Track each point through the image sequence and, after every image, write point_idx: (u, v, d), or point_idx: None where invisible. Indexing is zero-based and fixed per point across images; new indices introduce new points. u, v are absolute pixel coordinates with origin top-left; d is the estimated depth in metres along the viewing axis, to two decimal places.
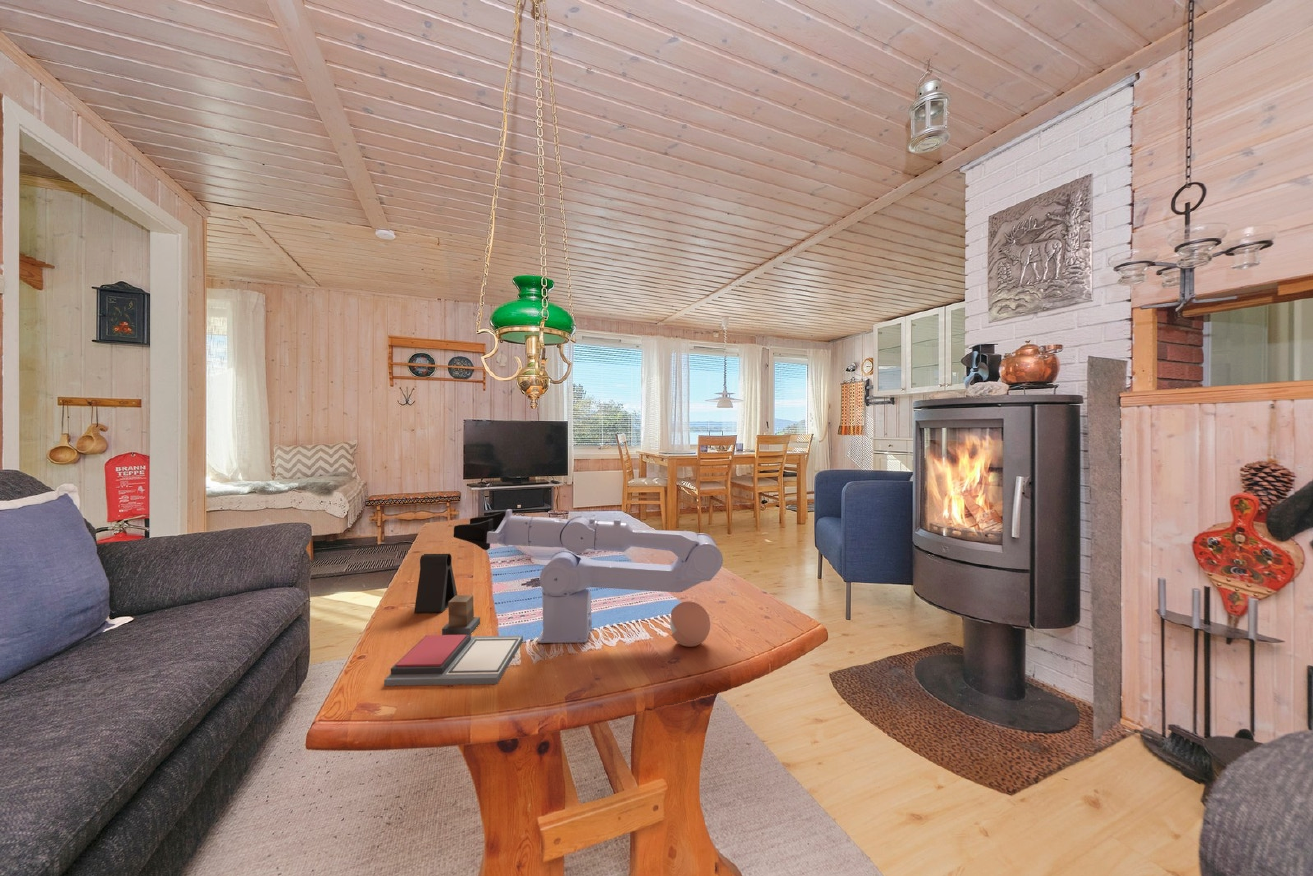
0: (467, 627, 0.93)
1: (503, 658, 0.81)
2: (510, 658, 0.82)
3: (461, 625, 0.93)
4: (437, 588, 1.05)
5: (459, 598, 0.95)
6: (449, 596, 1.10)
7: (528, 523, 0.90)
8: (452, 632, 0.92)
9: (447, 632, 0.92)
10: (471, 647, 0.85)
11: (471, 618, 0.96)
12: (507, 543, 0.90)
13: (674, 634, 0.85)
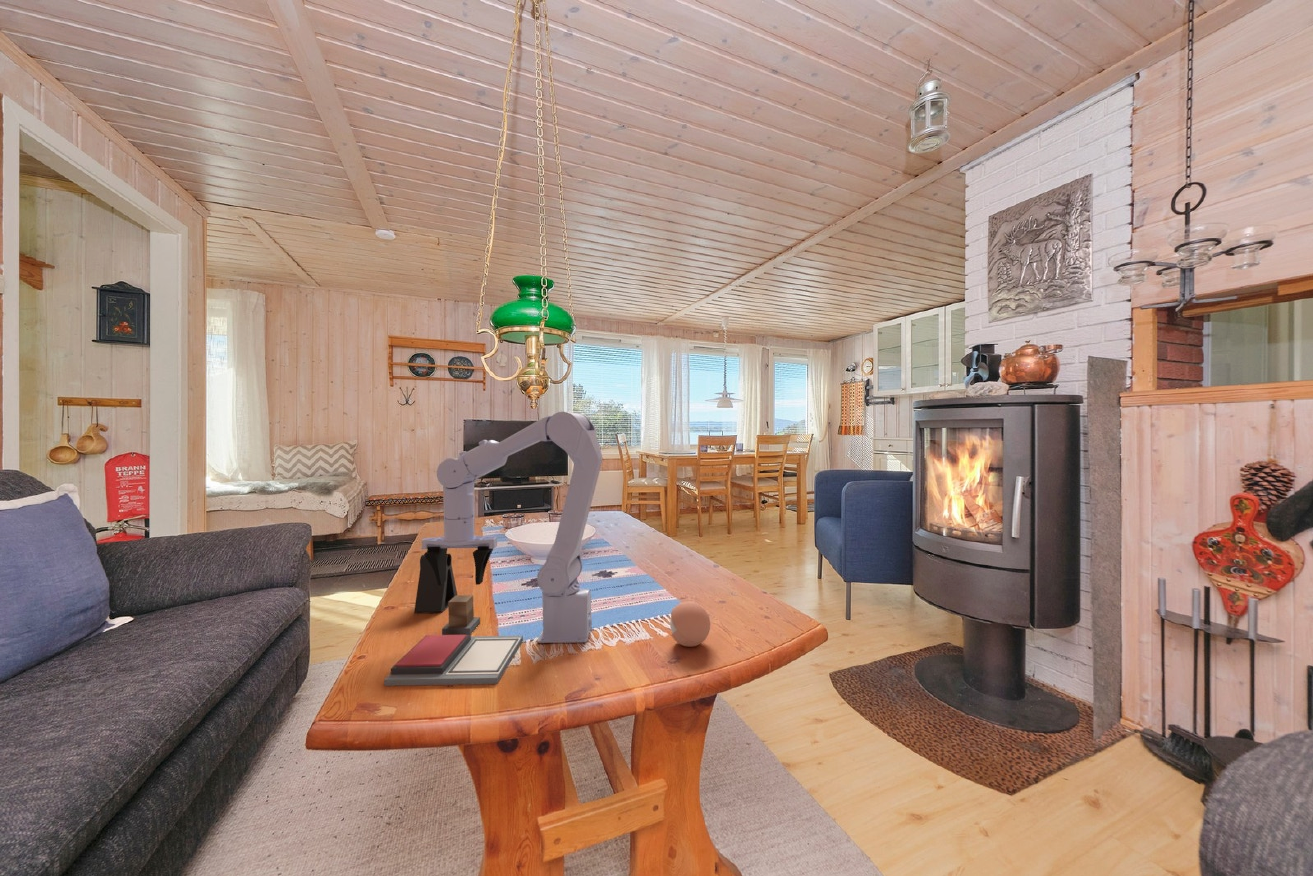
0: (467, 627, 0.93)
1: (503, 658, 0.81)
2: (510, 658, 0.82)
3: (461, 625, 0.93)
4: (437, 588, 1.05)
5: (459, 598, 0.95)
6: (449, 596, 1.10)
7: None
8: (452, 632, 0.92)
9: (447, 632, 0.92)
10: (471, 647, 0.85)
11: (471, 618, 0.96)
12: (446, 540, 0.92)
13: (674, 634, 0.85)
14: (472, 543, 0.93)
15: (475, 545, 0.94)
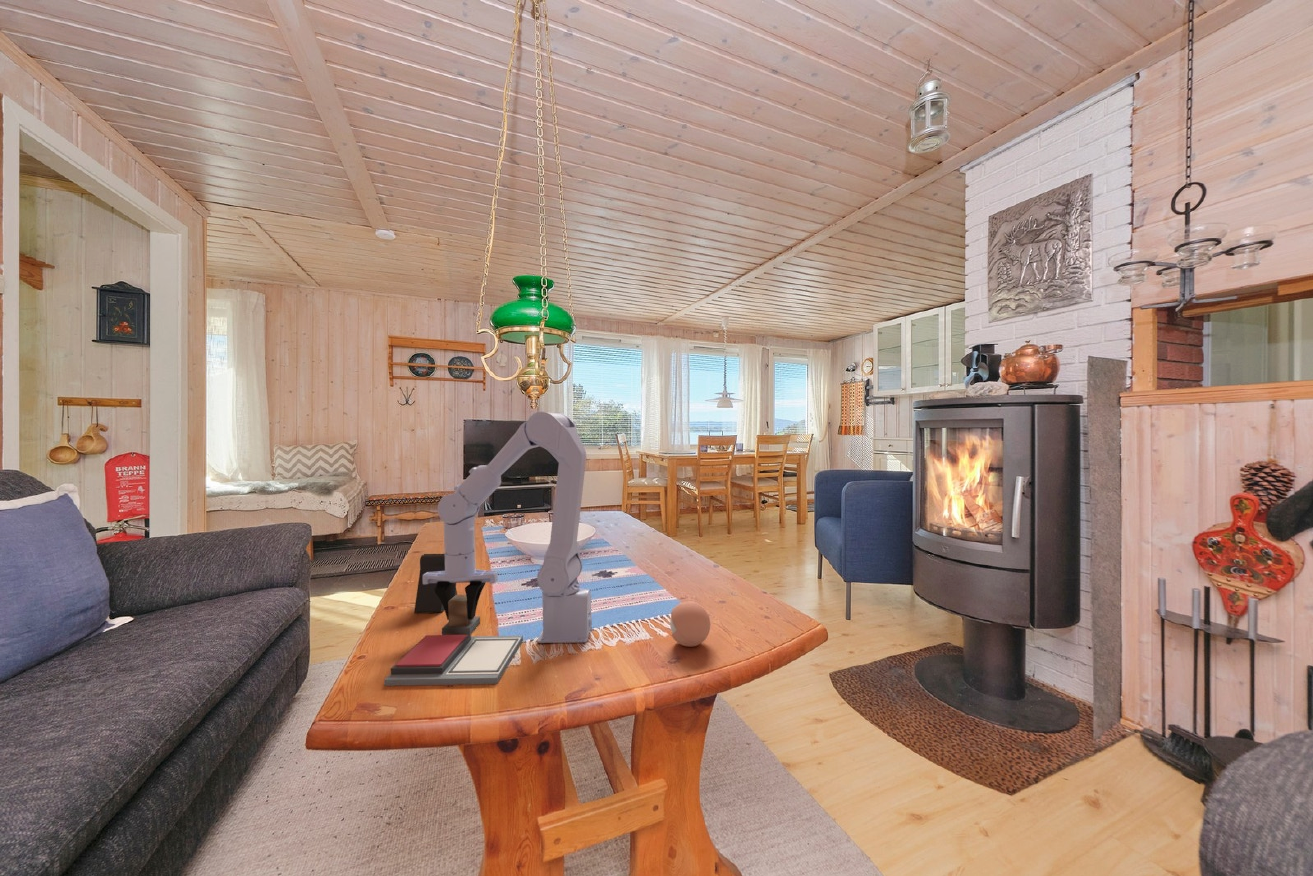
0: (467, 626, 0.93)
1: (503, 658, 0.81)
2: (510, 658, 0.82)
3: (461, 624, 0.93)
4: None
5: (459, 597, 0.95)
6: None
7: None
8: (452, 631, 0.92)
9: (447, 631, 0.92)
10: (471, 647, 0.85)
11: None
12: (447, 575, 0.93)
13: (674, 634, 0.85)
14: (473, 578, 0.93)
15: (476, 580, 0.95)
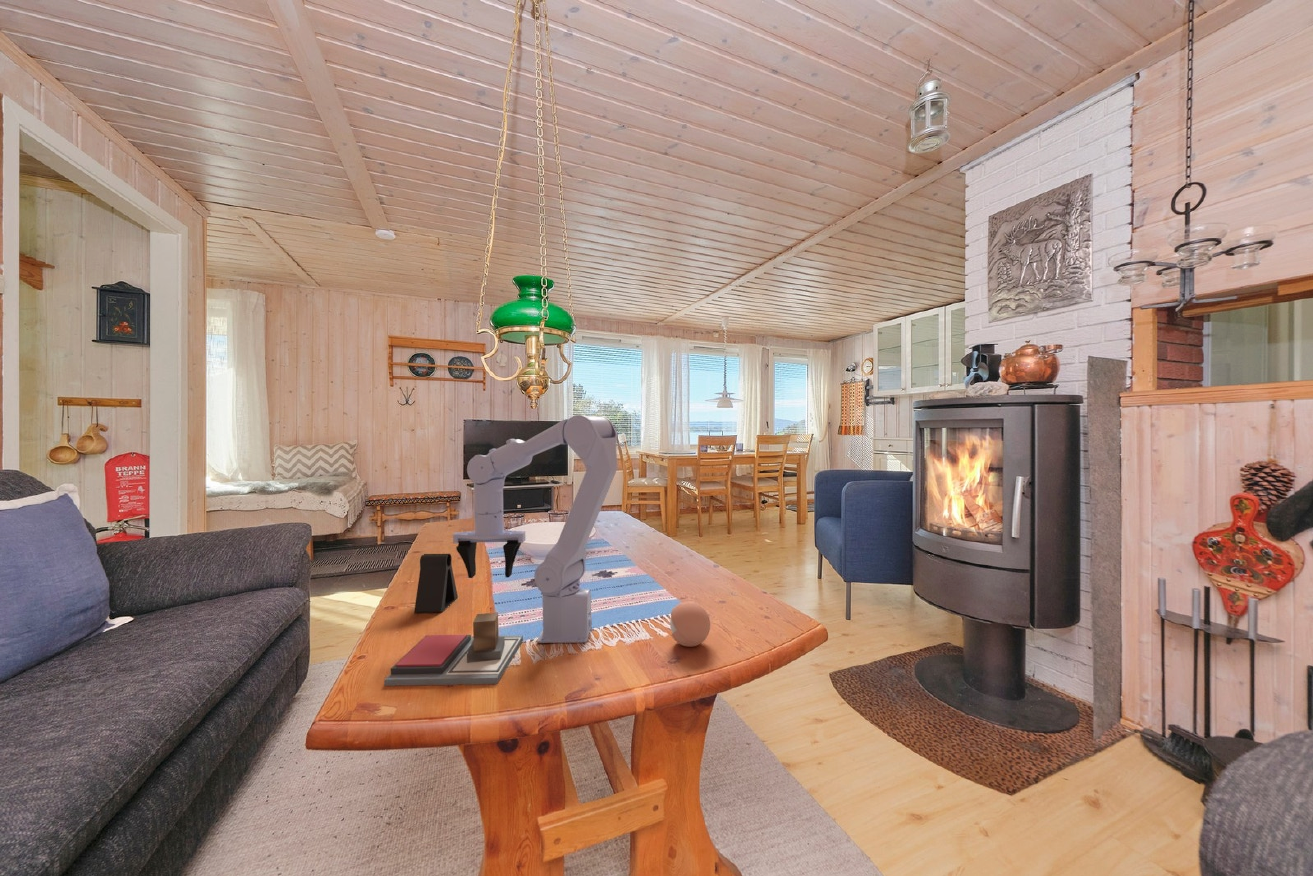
0: (497, 650, 0.81)
1: (503, 658, 0.81)
2: (510, 658, 0.82)
3: (489, 648, 0.81)
4: (437, 588, 1.05)
5: (484, 616, 0.83)
6: (449, 596, 1.10)
7: None
8: (479, 657, 0.80)
9: (473, 657, 0.80)
10: None
11: (497, 639, 0.83)
12: (477, 534, 0.95)
13: (674, 634, 0.85)
14: (502, 537, 0.96)
15: (504, 539, 0.97)
